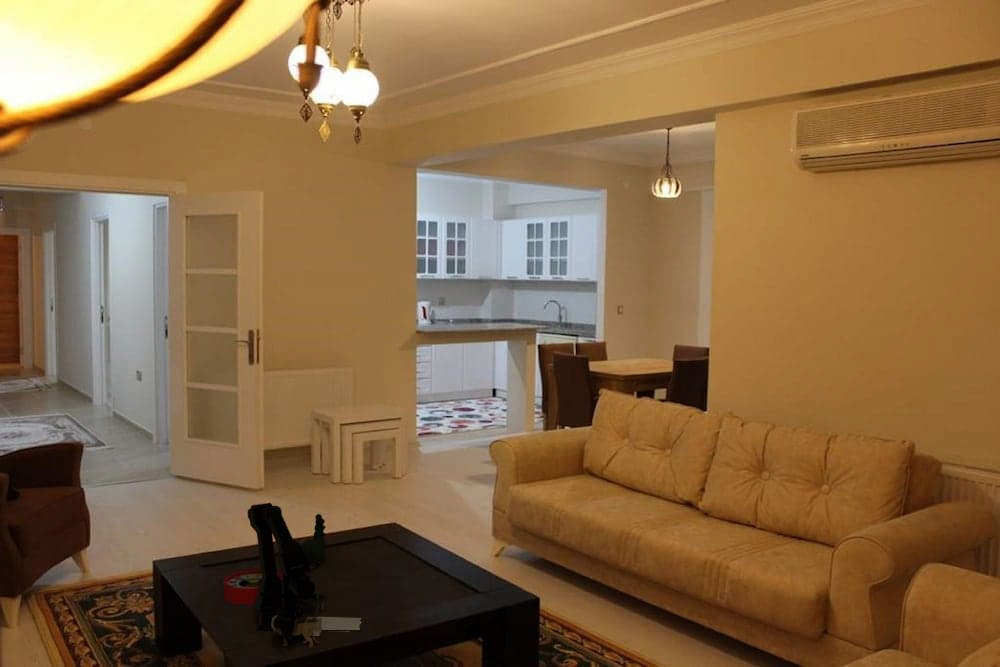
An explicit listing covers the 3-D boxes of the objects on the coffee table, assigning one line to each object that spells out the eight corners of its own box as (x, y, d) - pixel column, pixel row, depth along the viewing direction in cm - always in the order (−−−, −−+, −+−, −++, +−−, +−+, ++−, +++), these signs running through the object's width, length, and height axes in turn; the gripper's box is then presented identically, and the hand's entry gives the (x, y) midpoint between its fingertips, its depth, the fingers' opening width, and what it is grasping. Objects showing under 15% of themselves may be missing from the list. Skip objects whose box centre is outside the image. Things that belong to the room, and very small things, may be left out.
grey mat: (318, 618, 284) (318, 616, 284) (366, 619, 284) (366, 618, 284) (311, 630, 274) (311, 628, 274) (361, 631, 274) (361, 630, 274)
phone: (326, 594, 304) (323, 610, 289) (326, 597, 304) (323, 613, 289) (304, 594, 303) (299, 610, 288) (303, 598, 303) (299, 614, 288)
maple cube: (307, 630, 274) (307, 616, 274) (321, 631, 274) (321, 616, 274) (304, 636, 269) (304, 621, 269) (318, 637, 269) (318, 622, 269)
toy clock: (256, 592, 290) (211, 582, 299) (256, 610, 290) (211, 599, 299) (295, 575, 308) (251, 566, 317) (294, 591, 308) (251, 582, 317)
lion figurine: (269, 648, 260) (269, 618, 259) (272, 640, 265) (273, 612, 265) (318, 648, 261) (319, 618, 261) (320, 640, 266) (321, 612, 266)
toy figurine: (307, 558, 350) (294, 573, 325) (309, 511, 351) (296, 522, 326) (330, 558, 350) (319, 573, 325) (332, 512, 351) (321, 523, 326)
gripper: (311, 601, 253) (310, 653, 254) (324, 579, 271) (323, 628, 272) (273, 600, 253) (272, 652, 254) (288, 578, 271) (288, 627, 272)
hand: (290, 639), depth 263 cm, fingers closed on lion figurine, 4 cm apart
